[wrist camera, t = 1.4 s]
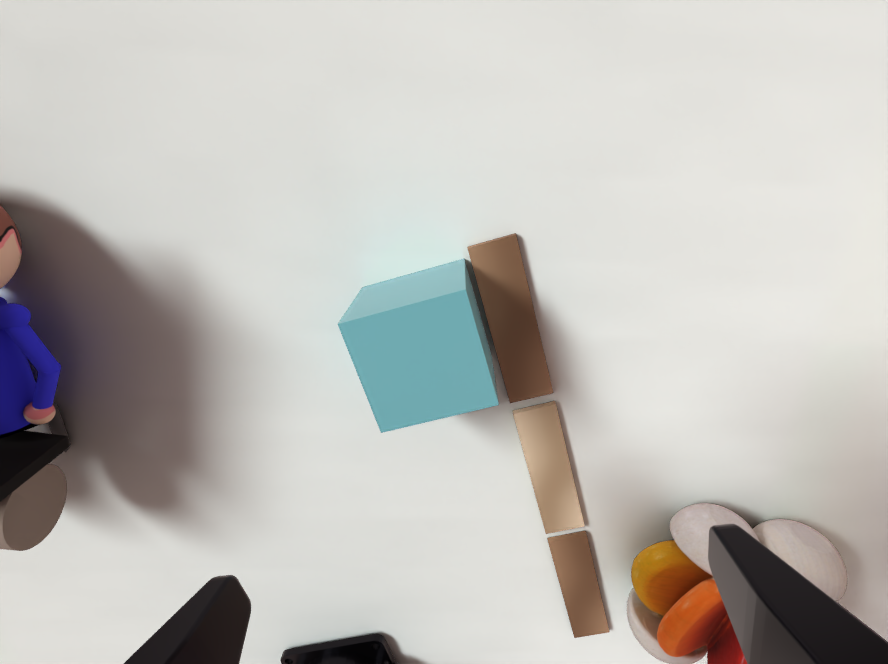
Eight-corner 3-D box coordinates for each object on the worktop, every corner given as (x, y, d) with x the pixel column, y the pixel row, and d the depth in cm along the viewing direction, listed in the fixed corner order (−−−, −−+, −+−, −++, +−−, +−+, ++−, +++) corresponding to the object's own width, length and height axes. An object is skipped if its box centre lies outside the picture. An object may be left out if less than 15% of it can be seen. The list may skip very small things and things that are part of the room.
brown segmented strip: (573, 632, 27) (574, 637, 27) (467, 246, 19) (467, 248, 19) (607, 627, 27) (609, 632, 27) (515, 233, 19) (516, 234, 19)
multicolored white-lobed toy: (654, 477, 23) (732, 612, 17) (835, 516, 24) (982, 662, 17) (595, 596, 27) (642, 751, 20) (757, 628, 27) (856, 789, 20)
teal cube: (396, 377, 22) (381, 432, 18) (363, 286, 20) (337, 324, 16) (491, 353, 21) (498, 405, 17) (464, 258, 20) (465, 289, 15)
